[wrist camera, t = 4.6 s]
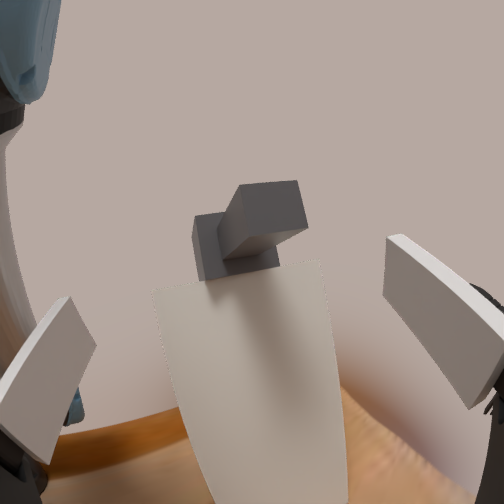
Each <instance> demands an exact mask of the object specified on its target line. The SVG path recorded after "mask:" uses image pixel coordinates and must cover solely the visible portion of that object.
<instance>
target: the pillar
mask: <svg viewBox="0 0 504 504" xmlns="http://www.w3.org/2000/svg"><path fill="white" fill-rule="evenodd" d="M151 292H152V298H153V303H154V308H155V313H156V318H157V323H158V328H159V332H160V337H161V342H162V346H163V350H164V354H165V358H166V362H167V366H168V370H169V374H170V378H171V381H172V385H173V389H174V392H175V396H176V399H177V402H178V406H179V409H180V412H181V415H182V418H183V422H184V425H185V428H186V431H187V434H188V436H189V439H190V442H191V445H192V448H193V451H194V453H195V456H196V459H197V461H198V464H199V466H200V469H201V471H202V474H203V476H204V479H205V481H206V484H207V486H208V488H209V491H210V493H211V495H212V497H213V500H214V502H215V504H347V503H348V477H347V458H346V444H345V431H344V420H343V410H342V400H341V392H340V383H339V375H338V368H337V360H336V353H335V346H334V340H333V333H332V328H331V321H330V315H329V310H328V303H327V298H326V292H325V287H324V282H323V276H322V272H321V266H320V261H319V259H315V260H310V261H305V262H300V263H295V264H290V265H285V266H280V267H275V268H270V269H264V270H259V271H254V272H249V273H244V274H239V275H233V276H228V277H223V278H217V279H212V280H206V281H201V282H196V283H190V284H184V285H179V286H173V287H167V288H162V289H157V290H151Z"/></svg>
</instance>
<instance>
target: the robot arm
mask: <svg viewBox="0 0 504 504" xmlns="http://www.w3.org/2000/svg"><path fill="white" fill-rule="evenodd" d="M60 5H61V0H0V504H42V501H41V498H40V495H39V494H40V493H41V492H42V491H43V490H44V488H45V486H46V484H47V476H46V473H45V471H44V470H43V468H42V466H41V464H40V463H39V462H42V463H44V464H47V465H49V464H50V461H51V458H52V455H53V452H54V449H55V446H56V443H57V440H58V437H59V434H60V431H61V428H62V426H65V427H66V426H69V425H70V424H75V423H79V422H81V421H82V420H83V419H84V416H85V413H84V409H83V404H82V400H81V397H80V393H79V387H78V385H79V383H80V381H81V378H82V376H83V374H84V372H85V369H86V367H87V365H88V363H89V361H90V359H91V356H92V354H93V352H94V350H95V348H96V346H97V345H96V343H95V341H94V340H93V338H92V336H91V334H90V333H89V331H88V329H87V327H86V326H85V324H84V322H83V321H82V318H81V316H80V315H79V313H78V311H77V309H76V307H75V305H74V303H73V301H72V299H71V297H63V298H58V299H57V301H56V302H55V303H54V304H53V306H52V307H51V308H50V309H49V311H48V312H47V313H46V315H45V316H44V317H43V319H42V320H41V321H40V323H39V324H38V325H37V324H36V321H35V318H34V315H33V313H32V310H31V308H30V304H29V300H28V297H27V294H26V291H25V287H24V283H23V280H22V276H21V272H20V268H19V264H18V260H17V255H16V250H15V245H14V241H13V235H12V229H11V222H10V215H9V208H8V198H7V186H6V167H5V149H6V146H7V145H8V144H9V142H10V141H11V140H12V138H13V137H14V136H15V134H16V133H17V131H19V129H20V128H21V127H22V126H23V120H24V110H25V104H31V102H33V101H36V100H38V99H39V98H40V97H41V96H42V95H43V93H44V91H45V88H46V85H47V81H48V76H49V68H50V65H51V62H52V56H53V49H54V43H55V38H56V32H57V25H58V18H59V12H60ZM383 296H384V298H385V299H386V300H387V301H388V302H389V304H390V305H391V306H392V307H393V308H394V310H395V311H396V312H397V313H398V315H399V316H400V317H401V318H402V320H403V321H404V322H405V323H406V325H407V326H408V327H409V328H410V330H411V331H412V332H413V333H414V335H415V336H416V337H417V339H418V340H419V341H420V342H421V344H422V345H423V346H424V347H425V349H426V350H427V352H428V353H429V354H430V356H431V357H432V358H433V360H434V361H435V363H436V364H437V365H438V367H439V368H440V369H441V371H442V372H443V374H444V375H445V376H446V378H447V379H448V381H449V382H450V383H451V385H452V386H453V388H454V389H455V391H456V392H457V394H458V395H459V397H460V398H461V400H462V401H463V403H464V404H465V406H466V407H467V409H468V410H470V409H471V408H473V407H474V406H476V405H477V404H478V403H480V402H482V401H483V400H484V399H485V398H486V397H487V395H488V394H489V392H490V391H491V389H492V388H493V387H494V388H495V390H496V391H497V392H496V394H495V395H494V397H493V399H492V400H491V401H490V403H489V404H488V405H487V407H486V408H485V411H484V414H487V413H488V411H489V410H490V409H491V407H492V406H493V410H492V412H491V413H490V415H492V423H491V432H490V439H489V446H488V452H487V458H486V462H485V467H484V471H483V476H482V480H481V484H480V487H479V491H478V494H477V498H476V501H475V504H504V307H503V306H501V304H500V303H499V302H498V301H497V300H495V299H493V297H492V296H491V295H490V294H488V293H487V292H486V291H485V290H483V289H482V288H480V287H478V286H476V285H473V284H471V283H470V284H468V283H467V282H466V281H465V280H464V279H462V278H461V277H460V276H459V275H457V274H456V273H455V272H454V271H452V270H451V269H449V268H448V267H447V266H446V265H444V264H443V263H442V262H441V261H439V260H438V259H437V258H435V257H434V256H433V255H431V254H430V253H428V252H427V251H426V250H424V249H423V248H422V247H420V246H419V245H417V244H416V243H414V242H413V241H412V240H410V239H409V238H407V237H406V236H405V235H403V234H397V235H392V236H388V237H386V255H385V272H384V286H383ZM38 461H39V462H38Z"/></svg>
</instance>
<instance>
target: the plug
mask: <svg viewBox="0 0 504 504" xmlns="http://www.w3.org/2000/svg"><path fill="white" fill-rule="evenodd" d="M307 228H308V223H307V219H306V215H305V211H304V207H303V203H302V198H301V194H300V190H299V186H298V182H297V180H293V181H279V182H268V183H267V182H266V183H255V184H245V185H239V187H238V189H237V191H236V192H235V194H234V196H233V198H232V200H231V202H230V204H229V206H228V207H227V209H226V211H225V212H221V213H213V214H206V215H198V216H195V219H194V225H193V232H192V242H193V247H194V254H195V260H196V266H197V272H198V277H199V282H201V281H206V280H212V279H217V278H223V277H228V276H233V275H239V274H244V273H249V272H254V271H259V270H264V269H270V268H275V267H280V263H279V258H278V253H277V249H276V245H278V244H279V243H281V242H283V241H285V240H287V239H289V238H291V237H292V236H294V235H296V234H298V233H300V232H302V231H303V230H305V229H307Z"/></svg>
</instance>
